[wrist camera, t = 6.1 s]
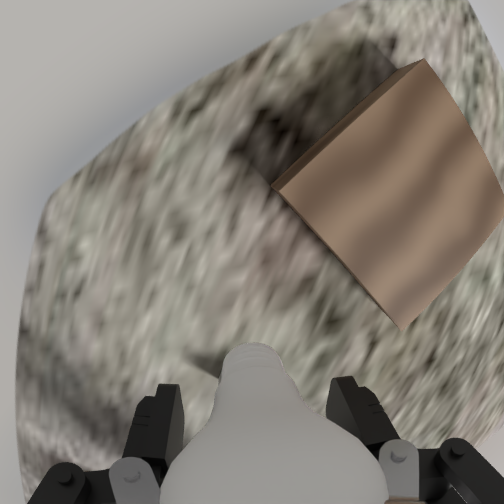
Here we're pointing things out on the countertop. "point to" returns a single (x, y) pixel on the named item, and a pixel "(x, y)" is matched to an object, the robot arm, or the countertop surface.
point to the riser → (398, 192)
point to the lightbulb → (270, 445)
